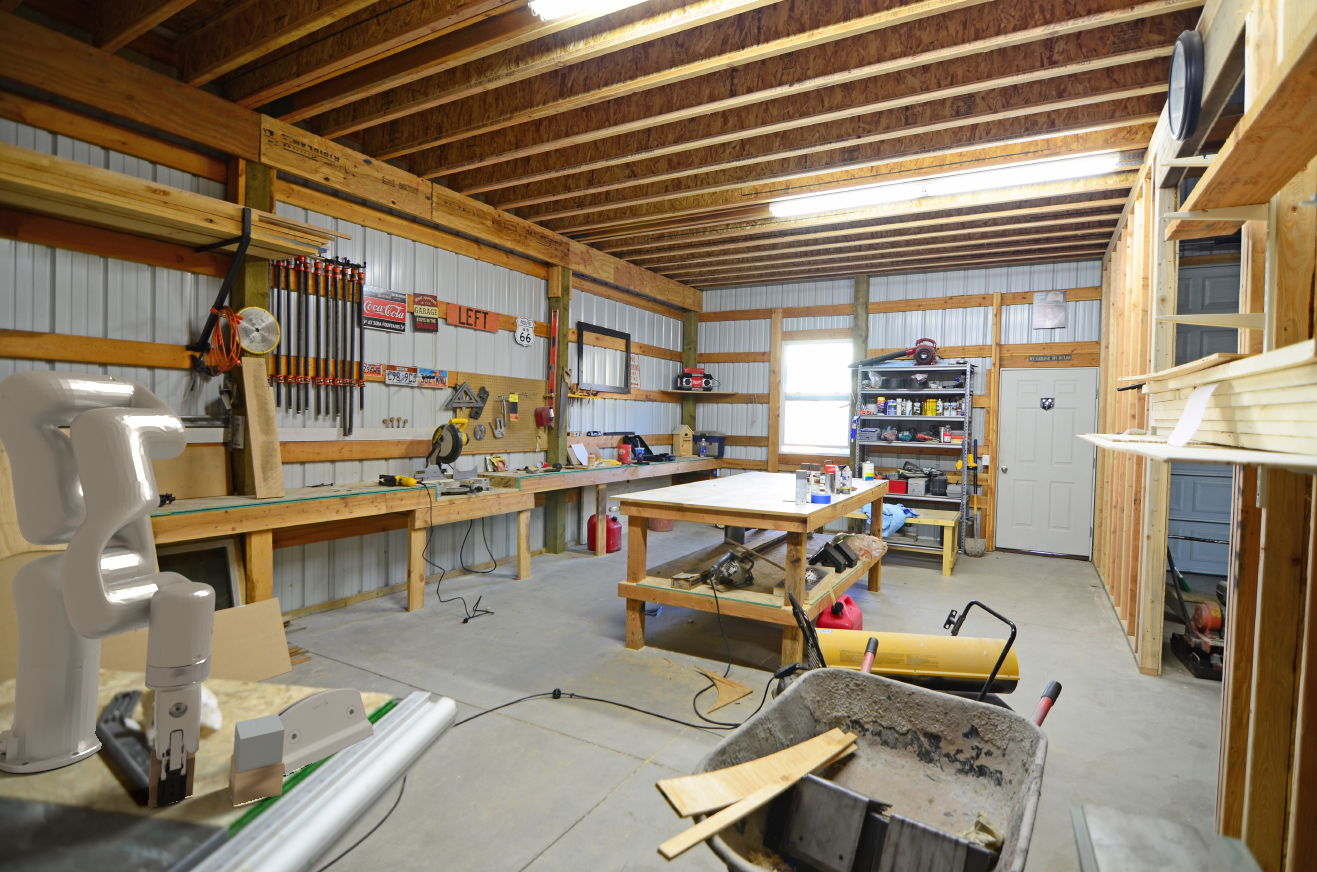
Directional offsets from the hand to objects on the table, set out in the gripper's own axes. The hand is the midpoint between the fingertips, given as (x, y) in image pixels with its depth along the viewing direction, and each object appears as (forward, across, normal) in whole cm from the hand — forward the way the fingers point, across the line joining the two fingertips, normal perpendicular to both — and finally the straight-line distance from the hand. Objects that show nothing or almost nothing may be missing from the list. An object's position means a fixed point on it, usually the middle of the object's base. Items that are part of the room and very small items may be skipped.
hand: (170, 790), depth 91 cm
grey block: (-4, -5, -10) cm, 12 cm away
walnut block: (+1, 0, 0) cm, 1 cm away
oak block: (+1, -5, -10) cm, 11 cm away
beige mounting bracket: (+1, +3, -20) cm, 20 cm away
